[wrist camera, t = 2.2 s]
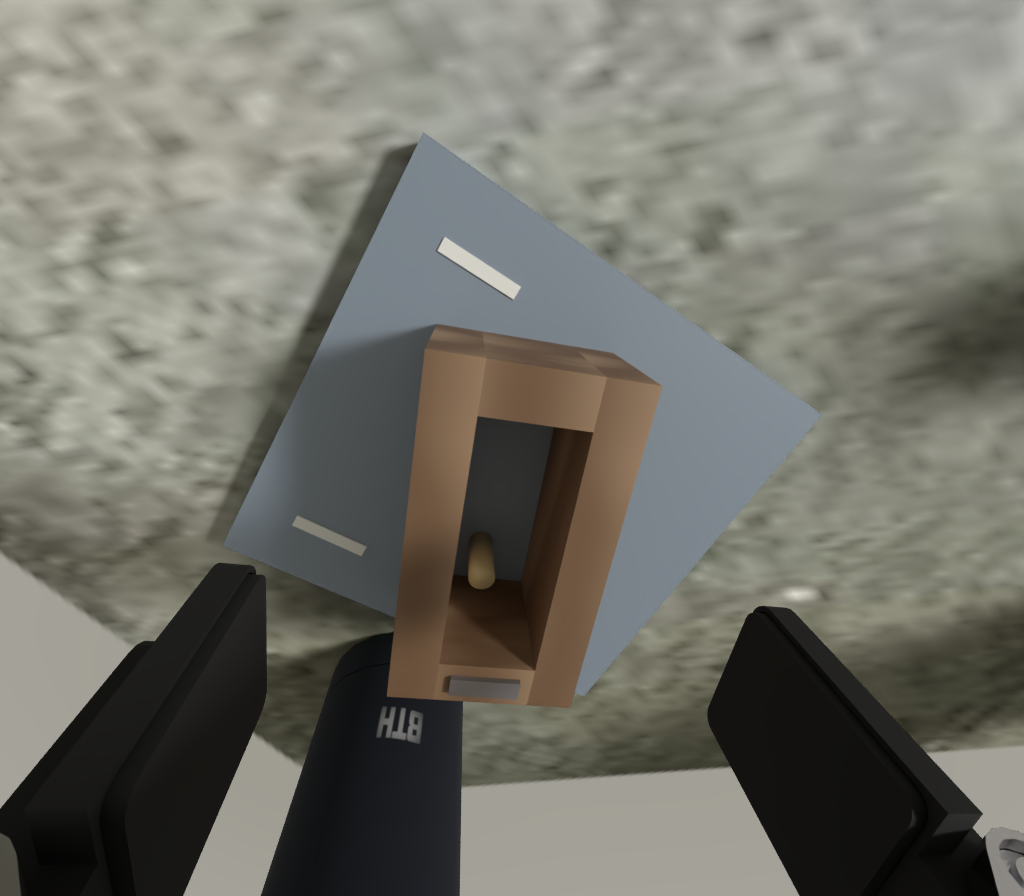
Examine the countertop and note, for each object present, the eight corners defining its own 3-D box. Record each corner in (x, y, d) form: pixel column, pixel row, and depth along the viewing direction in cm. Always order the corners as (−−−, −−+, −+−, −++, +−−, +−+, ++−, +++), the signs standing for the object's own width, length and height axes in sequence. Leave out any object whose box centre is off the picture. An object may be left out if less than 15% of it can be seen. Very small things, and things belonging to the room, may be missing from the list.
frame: (613, 352, 18) (664, 387, 13) (549, 613, 22) (571, 712, 17) (437, 323, 17) (424, 350, 12) (405, 600, 21) (385, 701, 17)
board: (803, 406, 21) (869, 435, 17) (578, 677, 25) (595, 742, 22) (426, 140, 16) (414, 109, 13) (235, 530, 21) (188, 584, 17)
